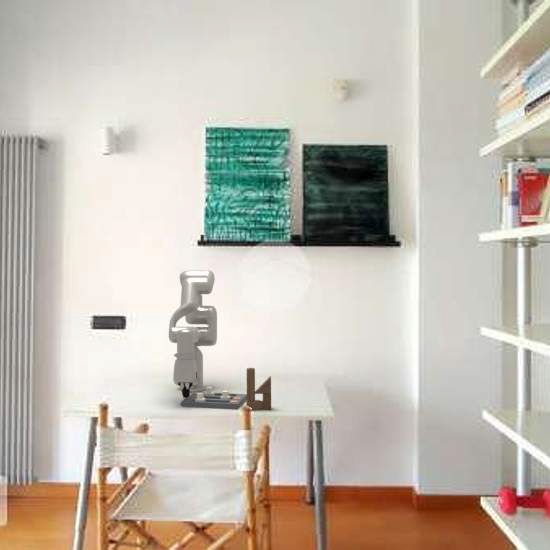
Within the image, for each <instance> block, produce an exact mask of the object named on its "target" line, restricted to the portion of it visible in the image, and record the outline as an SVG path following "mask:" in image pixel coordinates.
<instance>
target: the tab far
mask: <svg viewBox="0 0 550 550" xmlns="http://www.w3.org/2000/svg"><path fill="white" fill-rule="evenodd" d="M213 390H214V387H213V386H206V390H205V393H204V395H215V393H216V392H215V391H213Z"/></svg>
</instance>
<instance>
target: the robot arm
mask: <svg viewBox="0 0 550 550" xmlns="http://www.w3.org/2000/svg"><path fill="white" fill-rule="evenodd" d="M179 282H180V283H179V284H180V286H181V294H180V306H179V307H178V308H177V309H176V310H175V311H174V312H173V314H172V315H171V317H170V320H169V325H168V327H169V328H168V338H169V341H170V343H172V344H176V353H174V355H173V357H175V358H176V359H175V361H174V365H173V378H172V379H173V383H174V384H175V385H176V386H179V387H180V391H181V392H182V393H181V396H182V397H183V399H185V398H187V397H189V395H191V394H190V393H193V392H204V391H206V388H207V386H206V385H204V359H203V358H204V356H203V352H202V351H201V349H200V348H199V347H212V346H215V345H216V344H217V341H218V312H217V309H216V307H215V306H213V305H203V295H210V294H211V293H212V292H213V287H214V285H215V274H214V272H213V271H212V270H185V271H182V272H180V274H179ZM184 317H185V322H186V324H189V325H196V326H177V323H178V321H180V320H181V319H182V318H184ZM197 325H207V326H197Z"/></svg>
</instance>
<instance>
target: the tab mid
mask: <svg viewBox="0 0 550 550" xmlns="http://www.w3.org/2000/svg"><path fill="white" fill-rule="evenodd" d="M221 393H222V396H221V397H220V399H231V396H229V393H230V392H229V390H225V389H224V390H223V391H221Z"/></svg>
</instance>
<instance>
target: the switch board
mask: <svg viewBox="0 0 550 550" xmlns="http://www.w3.org/2000/svg"><path fill="white" fill-rule="evenodd" d="M205 392H206V391H205ZM205 392H204V391H201V392H191V394H190V395H189V397H187V398H183V399H182V400H181V401H180V407H181V406H182V407H181V408H195V409H196V408H201V409H219V410H220V409H221V410H223V409H224V410H239V408H241V407H242V406H243V405H244V404H245V402H246V401H247V393H230V392H229V396H231V399H220V397H221V396H222V392H215V395H204V398H206V402H196V401H195V399H196V398H197V394H198V393H205Z"/></svg>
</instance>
